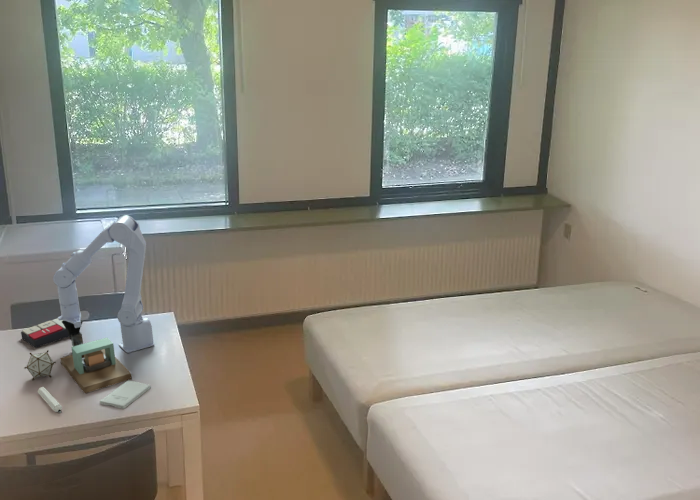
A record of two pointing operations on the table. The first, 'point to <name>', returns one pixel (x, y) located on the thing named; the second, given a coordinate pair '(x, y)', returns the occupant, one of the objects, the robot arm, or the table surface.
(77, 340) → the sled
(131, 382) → the external hard drive
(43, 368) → the game die
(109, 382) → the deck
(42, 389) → the marker
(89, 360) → the block
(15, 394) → the table surface
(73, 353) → the tunnel
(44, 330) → the sliding block puzzle
